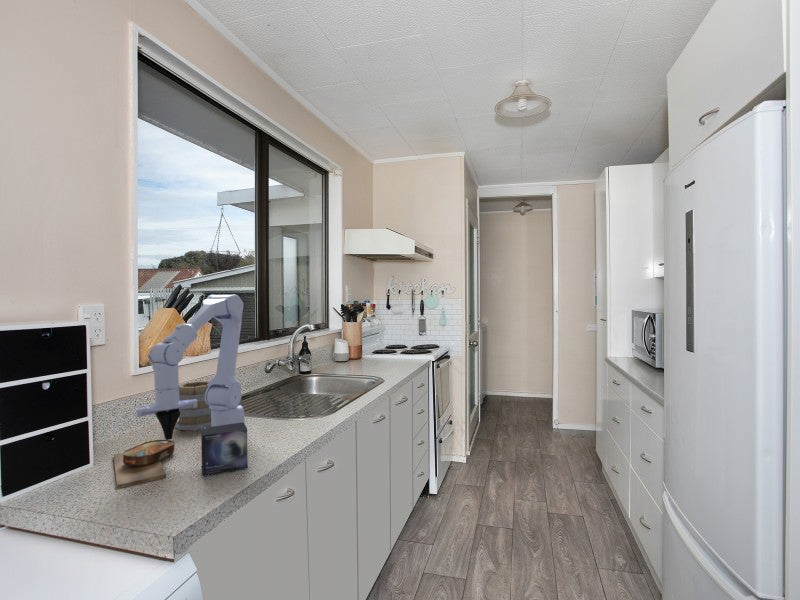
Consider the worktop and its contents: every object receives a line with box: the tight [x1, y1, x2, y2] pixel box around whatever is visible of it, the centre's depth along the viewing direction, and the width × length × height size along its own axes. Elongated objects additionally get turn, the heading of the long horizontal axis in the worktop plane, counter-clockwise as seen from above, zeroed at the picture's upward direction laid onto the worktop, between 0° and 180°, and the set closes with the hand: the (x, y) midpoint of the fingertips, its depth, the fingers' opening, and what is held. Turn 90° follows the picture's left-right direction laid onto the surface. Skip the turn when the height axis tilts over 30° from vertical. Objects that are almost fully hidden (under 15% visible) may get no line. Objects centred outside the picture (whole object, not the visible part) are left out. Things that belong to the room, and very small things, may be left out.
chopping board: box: [113, 452, 167, 489], centre depth 115 cm, size 10×24×1 cm, turn 34°
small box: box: [200, 422, 249, 477], centre depth 113 cm, size 11×6×10 cm, turn 117°
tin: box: [122, 439, 176, 466], centre depth 119 cm, size 15×3×8 cm
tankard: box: [174, 380, 227, 432], centre depth 154 cm, size 20×13×15 cm, turn 132°
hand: (168, 438), depth 119 cm, fingers closed
